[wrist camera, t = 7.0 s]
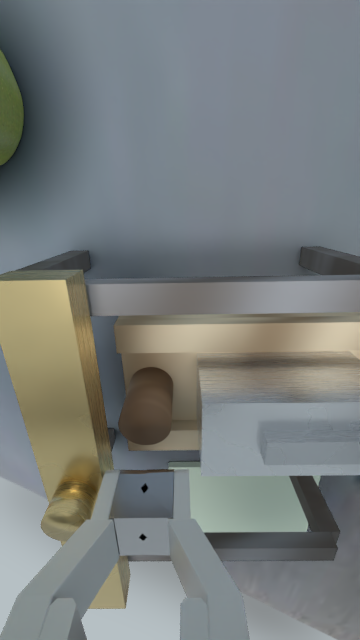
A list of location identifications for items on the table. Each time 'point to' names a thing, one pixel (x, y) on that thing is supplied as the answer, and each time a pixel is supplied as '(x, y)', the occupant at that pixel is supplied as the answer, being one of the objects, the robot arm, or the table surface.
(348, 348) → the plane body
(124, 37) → the table surface
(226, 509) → the sage mat
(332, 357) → the grey block with handle
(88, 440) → the brass bolt
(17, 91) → the plant pot
